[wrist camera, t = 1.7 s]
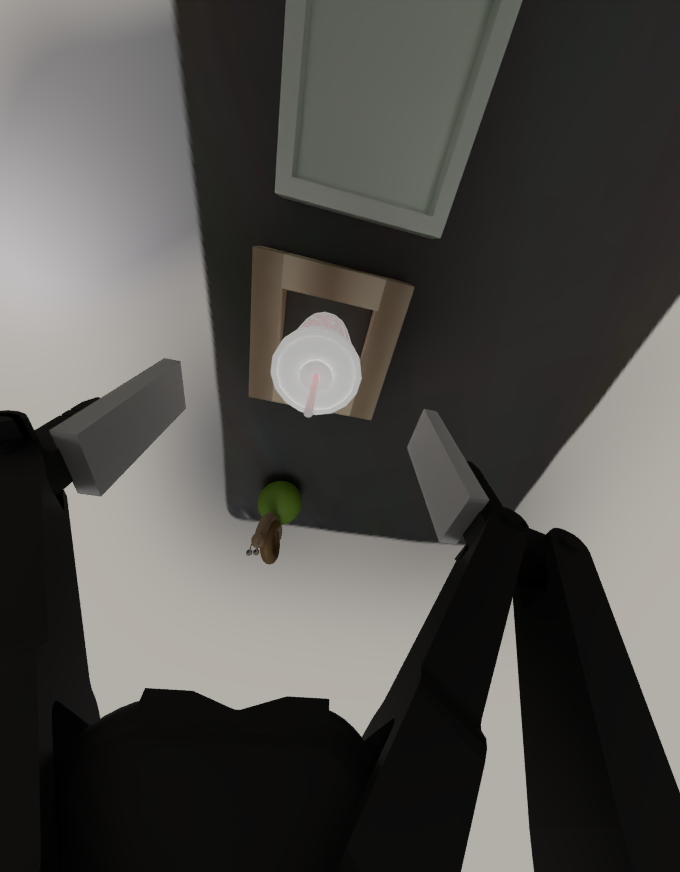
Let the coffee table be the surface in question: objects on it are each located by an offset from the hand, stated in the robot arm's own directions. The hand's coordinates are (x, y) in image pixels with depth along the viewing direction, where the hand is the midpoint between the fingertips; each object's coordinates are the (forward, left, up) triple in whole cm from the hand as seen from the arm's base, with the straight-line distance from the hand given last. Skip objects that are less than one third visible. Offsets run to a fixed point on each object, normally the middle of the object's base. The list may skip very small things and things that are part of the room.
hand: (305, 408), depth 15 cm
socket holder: (0, 0, -13) cm, 13 cm away
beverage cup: (0, 0, -13) cm, 13 cm away
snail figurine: (+2, +20, -13) cm, 24 cm away
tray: (-1, -15, -13) cm, 20 cm away
